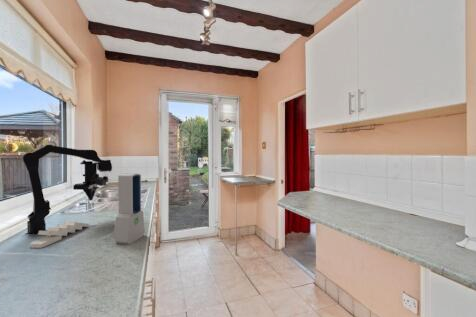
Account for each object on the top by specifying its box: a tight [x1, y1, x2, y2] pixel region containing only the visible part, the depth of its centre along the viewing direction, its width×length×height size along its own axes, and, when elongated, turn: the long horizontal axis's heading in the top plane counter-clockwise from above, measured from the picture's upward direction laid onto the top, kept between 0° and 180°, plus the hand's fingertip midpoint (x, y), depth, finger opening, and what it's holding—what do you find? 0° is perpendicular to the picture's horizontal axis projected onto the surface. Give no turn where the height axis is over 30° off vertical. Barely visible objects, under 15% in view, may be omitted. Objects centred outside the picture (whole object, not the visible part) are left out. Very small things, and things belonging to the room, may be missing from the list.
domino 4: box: [56, 224, 82, 230], centre depth 114 cm, size 5×2×10 cm
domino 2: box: [29, 235, 62, 249], centre depth 101 cm, size 5×2×10 cm
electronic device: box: [112, 173, 146, 245], centre depth 106 cm, size 12×8×30 cm, turn 168°
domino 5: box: [64, 221, 90, 227], centre depth 119 cm, size 5×2×10 cm
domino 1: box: [37, 230, 68, 236], centre depth 105 cm, size 5×2×10 cm
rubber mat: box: [36, 224, 99, 243], centre depth 114 cm, size 12×24×1 cm, turn 175°
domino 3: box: [47, 227, 76, 233], centre depth 110 cm, size 5×2×10 cm
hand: (91, 200), depth 131 cm, fingers closed
